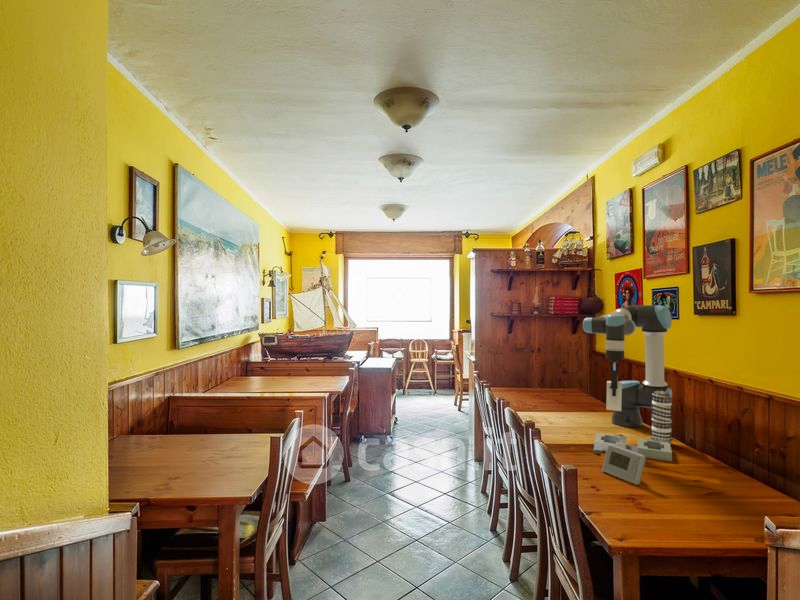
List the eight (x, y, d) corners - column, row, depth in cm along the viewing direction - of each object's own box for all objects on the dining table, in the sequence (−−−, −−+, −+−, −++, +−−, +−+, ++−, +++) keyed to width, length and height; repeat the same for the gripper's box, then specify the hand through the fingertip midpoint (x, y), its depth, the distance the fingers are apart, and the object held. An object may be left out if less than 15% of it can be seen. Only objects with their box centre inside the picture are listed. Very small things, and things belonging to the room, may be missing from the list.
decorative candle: (671, 450, 207) (672, 394, 207) (648, 446, 213) (649, 392, 213) (674, 445, 215) (675, 391, 214) (651, 441, 220) (652, 389, 220)
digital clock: (599, 470, 181) (599, 443, 181) (618, 469, 184) (619, 442, 184) (629, 487, 166) (630, 458, 166) (650, 485, 168) (651, 456, 168)
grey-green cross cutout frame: (637, 456, 195) (637, 447, 195) (637, 446, 208) (637, 438, 208) (671, 461, 189) (671, 452, 189) (669, 450, 202) (669, 442, 202)
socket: (593, 449, 202) (594, 441, 202) (596, 440, 216) (596, 432, 216) (625, 454, 197) (625, 446, 197) (626, 444, 210) (626, 436, 210)
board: (593, 453, 202) (593, 449, 202) (595, 443, 216) (595, 440, 216) (672, 465, 189) (672, 461, 189) (670, 454, 202) (670, 450, 202)
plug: (606, 409, 205) (606, 375, 205) (606, 407, 209) (607, 374, 209) (621, 411, 202) (621, 376, 202) (621, 409, 206) (622, 375, 206)
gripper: (606, 347, 215) (605, 397, 215) (604, 351, 199) (603, 405, 199) (624, 348, 212) (623, 399, 212) (624, 352, 196) (623, 407, 196)
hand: (614, 402), depth 205 cm, fingers closed on plug, 4 cm apart
